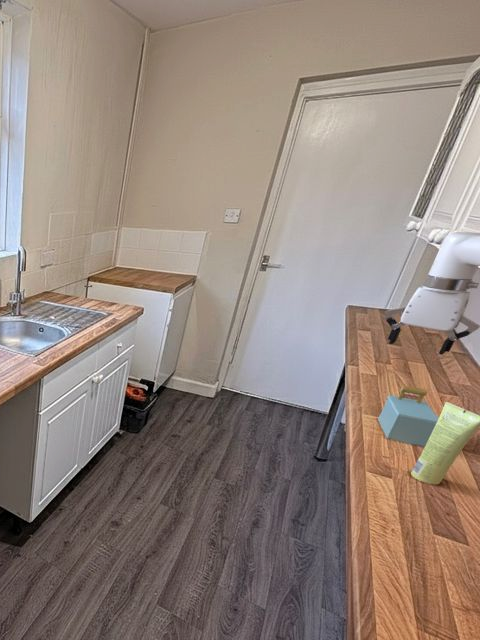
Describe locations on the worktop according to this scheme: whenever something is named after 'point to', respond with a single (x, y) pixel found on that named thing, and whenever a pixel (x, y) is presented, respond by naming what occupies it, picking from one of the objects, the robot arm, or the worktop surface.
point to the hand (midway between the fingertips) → (416, 348)
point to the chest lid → (413, 405)
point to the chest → (404, 427)
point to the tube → (445, 443)
